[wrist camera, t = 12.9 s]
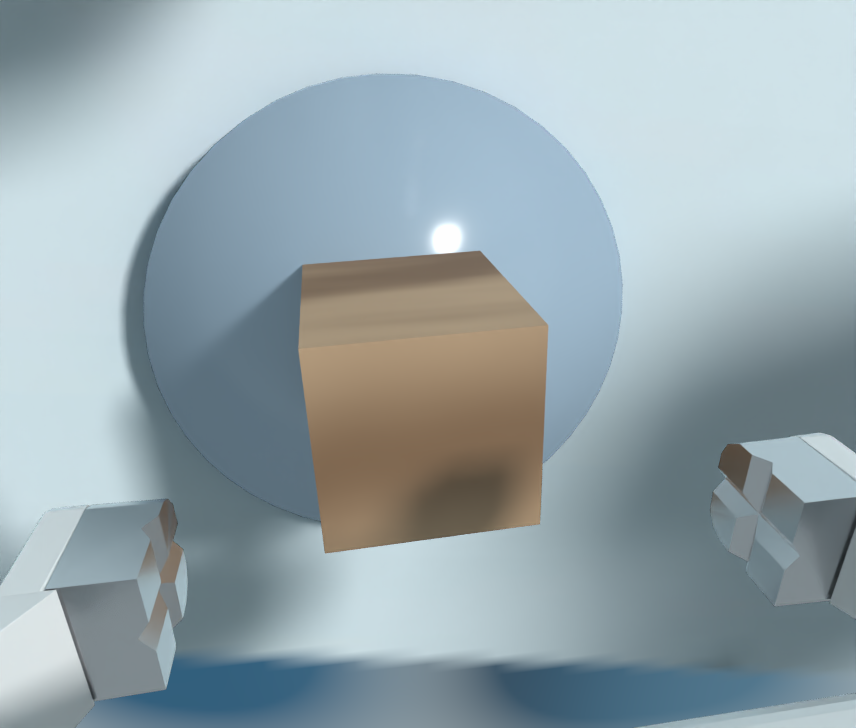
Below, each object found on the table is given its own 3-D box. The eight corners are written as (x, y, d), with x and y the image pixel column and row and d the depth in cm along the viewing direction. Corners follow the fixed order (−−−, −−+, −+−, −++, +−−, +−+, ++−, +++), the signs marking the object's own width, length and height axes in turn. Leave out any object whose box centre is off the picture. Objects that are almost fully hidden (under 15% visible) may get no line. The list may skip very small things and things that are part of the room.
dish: (99, 85, 16) (84, 86, 15) (624, 62, 18) (644, 62, 17) (201, 530, 22) (195, 553, 21) (591, 479, 24) (604, 498, 23)
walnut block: (302, 264, 18) (298, 348, 13) (479, 250, 19) (548, 325, 13) (321, 422, 20) (324, 553, 15) (480, 405, 21) (539, 524, 15)
